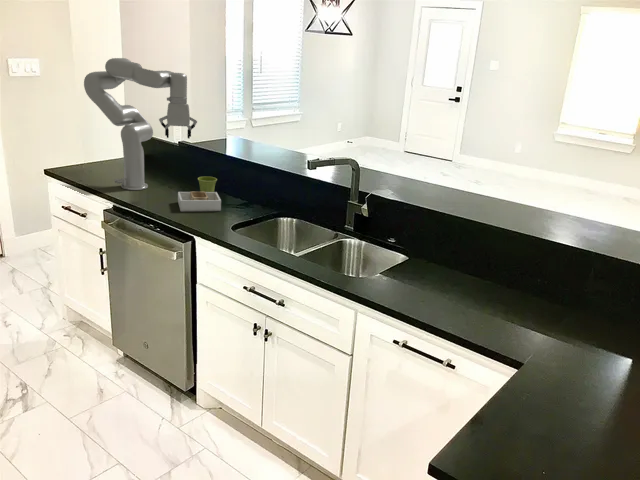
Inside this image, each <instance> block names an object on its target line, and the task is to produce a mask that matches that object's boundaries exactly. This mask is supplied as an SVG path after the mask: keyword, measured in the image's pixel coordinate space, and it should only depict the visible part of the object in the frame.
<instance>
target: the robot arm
mask: <svg viewBox="0 0 640 480" xmlns="http://www.w3.org/2000/svg"><path fill="white" fill-rule="evenodd" d="M104 65H105V66H104V67H105V68H104V69H105V71H101V70H99V71H93V72H89V73H88V74H86V75H85V77H84V79H83V87H84V90H85V91H84V92H85V93H86V95H87V97H88V98H89V99H90V100H91V101H92V102H93V103H94V104H95V105H96V106H97V107H98V109H99V110H100V111H101V113H103V114H104V115H105V116H106V118H107V119H108V120H109V121H110V122H111V124H113V126H115V127H122V128H121V130H120V138H121V143H122V150H123V151H122V152H123V177H121V178H114V183H117V184H120V188H122V189H124V190H128V191H141V190H145V189H147V188H148V187H149V185H148V183H145V152H144V147H143V145H142V142H146V141H148V140H151V138H153V135H154V129H153V127H152V125H151V124H150V123H149V121H148V120H147V119H146V118H145V117H144V115H143V114H142V113H141V112H140V111H139V110H138V109H137V108H136V107H134V106H133V105H130V104H124V105H122V104H120V103H119V102H118V101H117V100H116V98H115V97H114V96H113V95H111V94H110V93H109V92H107V91H106V90H112V89H115V88H117V87H118V86H120V85H121V84H123V83H124V82H125V81H130V82H134V83H136V84H138V85H140V86H145V87H148V88H153V89H164V88H165V89H166V88H169V96H168V97H166V101H168V105H167V112H166V115H164V116H162V117H160V118H158V121H159V123H160V125H161V126H162V127H163V128H164V129H165V130H164V135H165V136H166V138H167V139H169V135H170V133H169V132H170V131H169V127H187V134H186V135H187V139H190V137H192V130H193V129H194V128H195V127H196V125H197V124H198V120H197V119H195V118H193V117H191V116H190V114H191V113H190V105H189V104H188V102H187V101H188V76H187V74H185V73H182V72H173V71H170V70H151V69H147V68H143V67H142V64H140V63H138V62H133V61H132V60H130V59H128V58H126V57H125V58H124V57H114V58H113V57H111V58H109V59H108V60H107V61H106V63H105V64H104ZM165 120H166V122H167V123H166V124H165V123H164V121H165ZM190 121H191V122H192V123H191V122H190ZM190 123H191V124H190Z"/></svg>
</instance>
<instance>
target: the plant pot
mask: <svg viewBox="0 0 640 480" xmlns="http://www.w3.org/2000/svg"><path fill="white" fill-rule="evenodd" d="M197 181H198V183H199V192H215V186H216V183H217V181H218V178H216V177H213V176H199V177H197Z"/></svg>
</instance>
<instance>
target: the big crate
mask: <svg viewBox="0 0 640 480" xmlns="http://www.w3.org/2000/svg"><path fill="white" fill-rule="evenodd" d="M190 192H191V191H178V192H177V203H178V207H179V211H180V212H221V211H222V199H221V197H220V195H219V194H218V192H217V191H214V192H206V194H207V196H208V200H190Z"/></svg>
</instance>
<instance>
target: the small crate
mask: <svg viewBox="0 0 640 480" xmlns="http://www.w3.org/2000/svg"><path fill="white" fill-rule="evenodd" d="M189 192H190V200H208V196H207V194H206V192H200V191H189Z"/></svg>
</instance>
